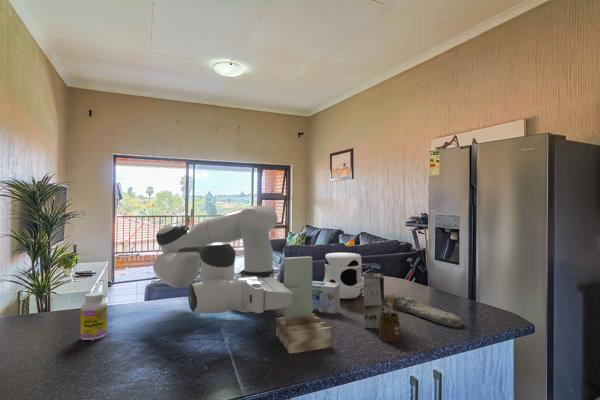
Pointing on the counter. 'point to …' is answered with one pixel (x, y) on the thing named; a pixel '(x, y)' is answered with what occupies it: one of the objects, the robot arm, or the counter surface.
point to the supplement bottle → (93, 317)
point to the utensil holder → (389, 324)
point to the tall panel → (301, 276)
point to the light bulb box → (325, 297)
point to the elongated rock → (423, 310)
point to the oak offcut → (306, 327)
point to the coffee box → (373, 299)
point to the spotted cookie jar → (345, 274)
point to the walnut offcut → (302, 321)
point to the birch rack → (303, 336)
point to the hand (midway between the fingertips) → (297, 288)
